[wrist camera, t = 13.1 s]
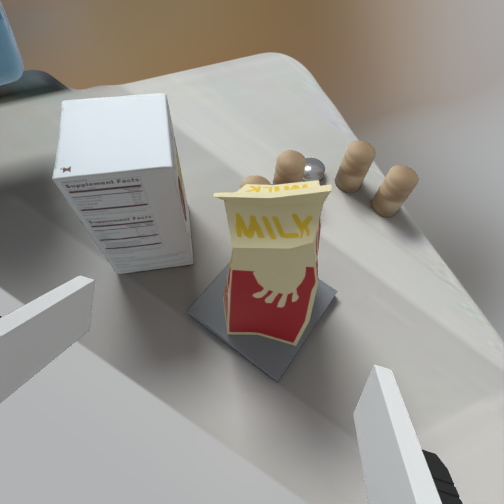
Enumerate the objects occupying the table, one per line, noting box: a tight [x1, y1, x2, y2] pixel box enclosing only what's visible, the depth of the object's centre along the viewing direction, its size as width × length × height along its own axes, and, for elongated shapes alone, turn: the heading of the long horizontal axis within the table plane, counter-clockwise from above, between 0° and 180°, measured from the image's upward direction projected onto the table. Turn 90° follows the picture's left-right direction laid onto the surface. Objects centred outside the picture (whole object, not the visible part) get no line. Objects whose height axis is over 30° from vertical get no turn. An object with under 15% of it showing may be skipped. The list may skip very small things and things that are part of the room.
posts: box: [240, 141, 418, 217], centre depth 45 cm, size 22×8×6 cm, turn 98°
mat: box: [188, 261, 337, 382], centre depth 39 cm, size 12×12×1 cm
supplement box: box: [52, 93, 194, 274], centre depth 36 cm, size 10×9×17 cm
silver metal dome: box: [302, 158, 325, 182], centre depth 49 cm, size 4×4×2 cm
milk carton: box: [214, 180, 331, 346], centre depth 30 cm, size 9×9×20 cm
